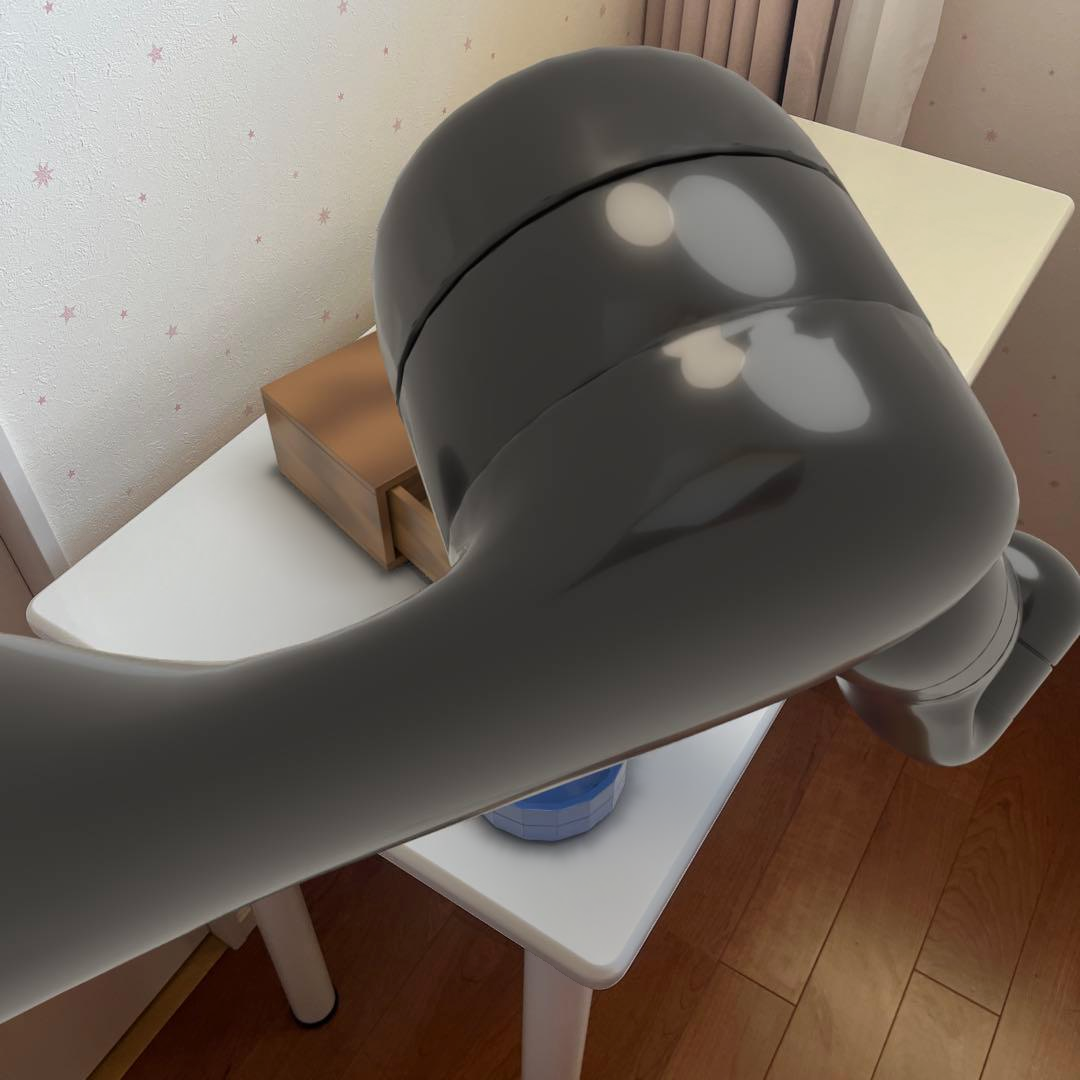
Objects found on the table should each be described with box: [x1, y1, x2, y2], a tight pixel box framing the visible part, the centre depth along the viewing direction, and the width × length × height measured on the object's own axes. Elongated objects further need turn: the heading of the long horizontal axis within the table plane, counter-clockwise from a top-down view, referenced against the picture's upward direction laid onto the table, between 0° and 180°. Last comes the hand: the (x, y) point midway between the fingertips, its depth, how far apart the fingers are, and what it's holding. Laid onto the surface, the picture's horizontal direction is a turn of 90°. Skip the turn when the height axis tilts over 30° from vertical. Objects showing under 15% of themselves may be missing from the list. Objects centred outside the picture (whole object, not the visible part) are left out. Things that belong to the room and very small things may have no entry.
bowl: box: [482, 761, 628, 842], centre depth 68 cm, size 10×10×4 cm
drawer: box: [385, 472, 451, 583], centre depth 78 cm, size 17×11×7 cm, turn 42°
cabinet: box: [259, 330, 419, 573], centre depth 85 cm, size 15×13×9 cm
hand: (463, 303), depth 64 cm, fingers closed on pepper mill, 5 cm apart
